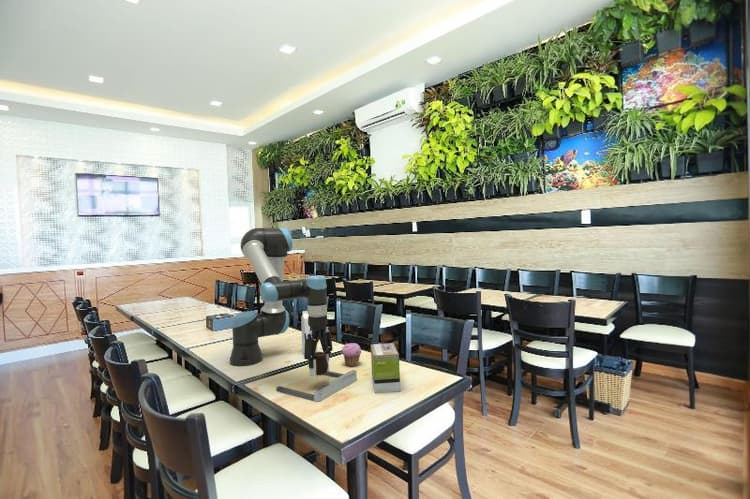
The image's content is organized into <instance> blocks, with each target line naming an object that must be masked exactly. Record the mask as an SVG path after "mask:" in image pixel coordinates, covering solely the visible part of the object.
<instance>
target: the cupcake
mask: <svg viewBox="0 0 750 499" xmlns="http://www.w3.org/2000/svg"><path fill="white" fill-rule="evenodd" d="M341 354H342V355H343V360H344V364H345V365H346V366H349V367H355V366H356V365H358V363H359V361H360V356H361V354H362V349H361V346H360V345H359V344H358V343H355V342H353V343H352V342H350V343H346V344H344V345H343V346H342V349H341Z"/></svg>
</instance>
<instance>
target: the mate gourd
mask: <svg viewBox="0 0 750 499" xmlns="http://www.w3.org/2000/svg"><path fill="white" fill-rule="evenodd" d="M327 350H328V348H327V349H326V351H327ZM326 351H325V352H326ZM325 352H323V351H317V352H315V357H314V359H315V360H316V376H324V375H323V374H325V373H326V372H327V369H328V362H327V360H326V353H325Z"/></svg>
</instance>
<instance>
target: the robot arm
mask: <svg viewBox="0 0 750 499" xmlns="http://www.w3.org/2000/svg"><path fill="white" fill-rule="evenodd" d="M293 246H294V245H293V238H292V235H291V233H290V231H289V229H287V228H285V227H256V228H251V229H249V230H248V231H247V232H245V233H244V235H243V236H242V238H241V240H240V250H241V253H242V255H243V256H244V257H245V258H247V259H248V261H249V263H250V265H251V267H252V268H253V271H254V272H255V274H256V277H257V278H258V280H259V282H260V283H261V285H260V287H259V296H260V299H261V300H262V302H264V305H263V306H262V307H261V308H260V313H258V312H257V310H247V311H242V312H239V313H237V314H235V315H234V316H233V317H232V319H231V320H232V322H231V327H232V331H231V332H232V350H231V353H230V357H229V364H230V365H231V366H235V367H237V366H238V367H239V366H241V367H242V366H250V365H252V366H253V365H256V364H258V363H261V362H263V358H264V356H263V352H262V350H261V347H260V344H259V338H264V337H269V336H278V335H280V334H284V333H286V331H287V330H288V328H289V325H290V314H289V312H288V311H287V310H286V308H285V306H284V305H283V301H288V300H295V299H296V300H298V299H307V311H308V315H309V317H308V325H309V326H310V331H309V333H305V334H304V337H305V350H304V354H303V359H304V360H308V369H309V377H313V378H316V377H317V375H316V360H315V359H314V357H315V352H316V347H317V348H318V343H320V345H321V349H322V352H325V351H326V349H327V348H328V350H327V351H326V352H325V353H326V360H327V362H328V369H327V371H330V355H331V354H332V351H333V340H332V327H331V326H327V325H328V315H327V314H328V310H327V309H328V307H327V305H328V304H327V303H328V302H327V301H328V300H327V299H328V298H327V278H326V276H324V275H309V276H307V278H298V279H296V280H295V279H294V280H284V272H285V271H284V270H285V268H284V267H285V260H286V258H287V257H288V253H289V252H291V251H292V249H293ZM313 339H315V340H313Z"/></svg>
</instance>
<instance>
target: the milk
mask: <svg viewBox="0 0 750 499" xmlns="http://www.w3.org/2000/svg"><path fill="white" fill-rule="evenodd" d="M300 317H301V318H300V320H301V349H302V350H301V352H302V355H304V350H305V337H304V334H305V333H309V331H310V326H309V325H308V317H309V315H308V310H305V311H304V310H303V311H302V315H301V316H300ZM313 340H315V339H313ZM316 352H318V346H317V347H316Z"/></svg>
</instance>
